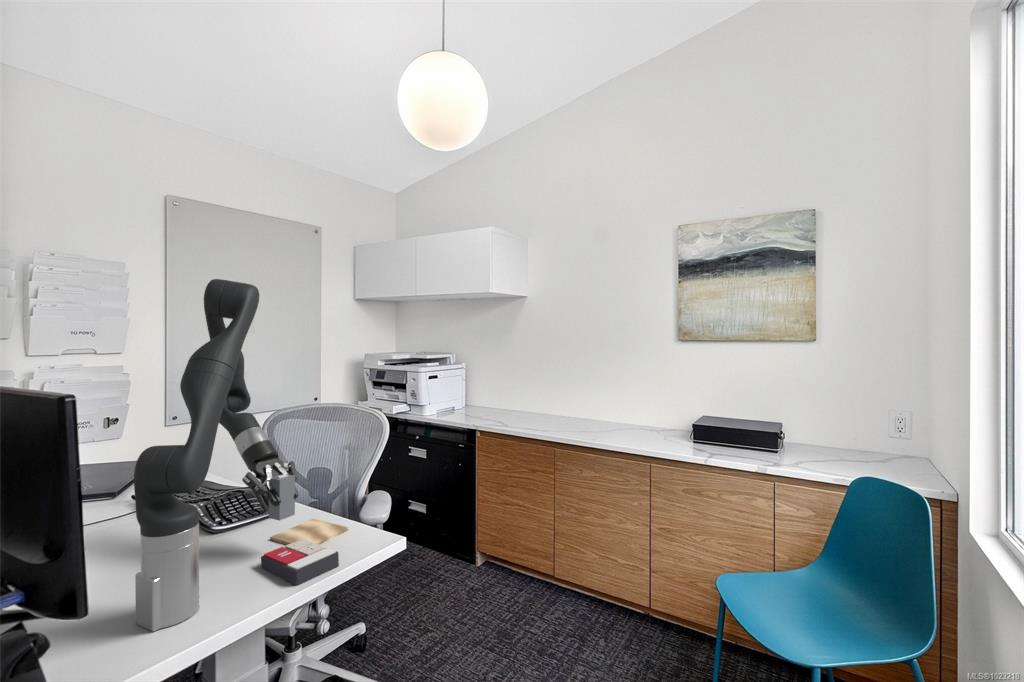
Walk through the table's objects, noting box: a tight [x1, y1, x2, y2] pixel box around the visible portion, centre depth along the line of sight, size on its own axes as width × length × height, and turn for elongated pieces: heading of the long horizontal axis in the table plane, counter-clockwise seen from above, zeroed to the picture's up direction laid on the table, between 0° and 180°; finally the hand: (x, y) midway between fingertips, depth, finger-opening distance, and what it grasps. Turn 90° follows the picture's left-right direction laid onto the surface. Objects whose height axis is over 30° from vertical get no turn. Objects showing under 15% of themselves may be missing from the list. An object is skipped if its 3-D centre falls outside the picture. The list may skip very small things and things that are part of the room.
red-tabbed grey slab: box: [260, 539, 340, 587], centre depth 110 cm, size 11×4×15 cm
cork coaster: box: [269, 518, 349, 546], centre depth 127 cm, size 14×14×1 cm
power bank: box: [268, 474, 296, 522], centre depth 117 cm, size 4×4×10 cm
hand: (287, 500), depth 116 cm, fingers closed on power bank, 4 cm apart
